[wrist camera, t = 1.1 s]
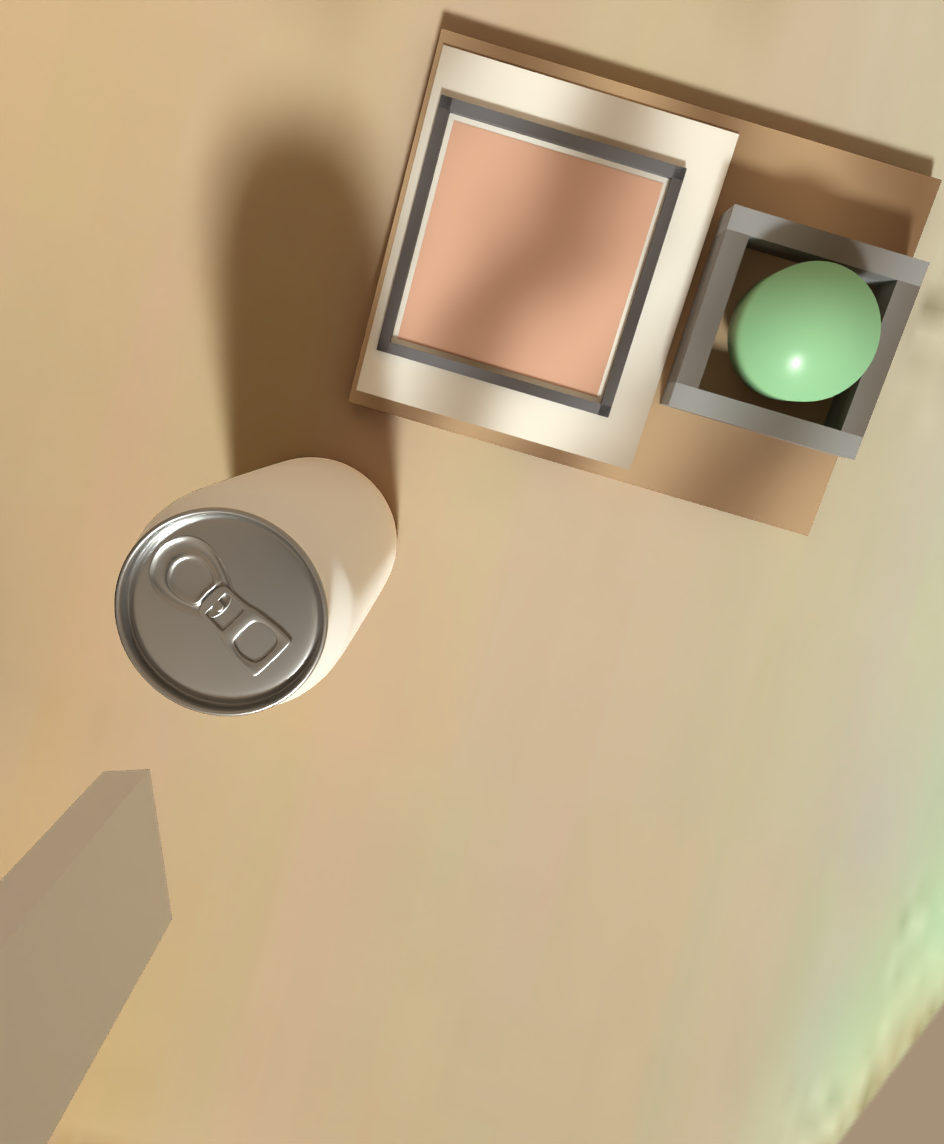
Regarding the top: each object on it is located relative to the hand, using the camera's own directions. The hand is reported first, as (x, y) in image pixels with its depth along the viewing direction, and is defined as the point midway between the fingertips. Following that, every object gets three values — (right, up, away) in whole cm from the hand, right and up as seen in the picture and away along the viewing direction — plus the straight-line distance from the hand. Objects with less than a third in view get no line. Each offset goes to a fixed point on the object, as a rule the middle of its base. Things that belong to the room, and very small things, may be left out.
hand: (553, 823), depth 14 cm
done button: (+10, +12, +16) cm, 22 cm away
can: (-7, +5, +20) cm, 22 cm away
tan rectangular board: (+4, +14, +18) cm, 23 cm away
